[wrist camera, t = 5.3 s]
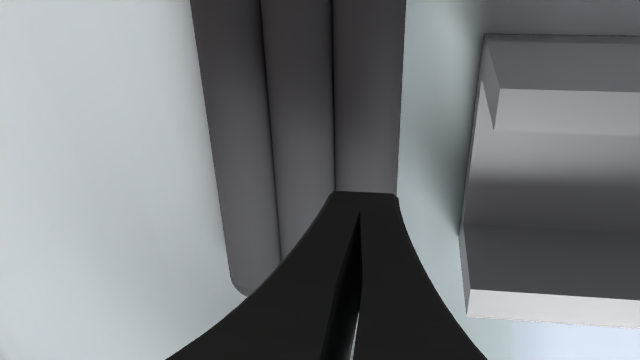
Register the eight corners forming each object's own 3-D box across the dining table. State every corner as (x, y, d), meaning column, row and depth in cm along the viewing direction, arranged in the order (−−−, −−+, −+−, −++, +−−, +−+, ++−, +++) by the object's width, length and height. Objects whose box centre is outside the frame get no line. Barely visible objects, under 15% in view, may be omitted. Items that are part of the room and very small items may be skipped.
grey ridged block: (172, -45, 12) (195, -62, 14) (226, 307, 18) (239, 271, 19) (408, -45, 12) (408, -63, 13) (390, 319, 17) (391, 281, 19)
